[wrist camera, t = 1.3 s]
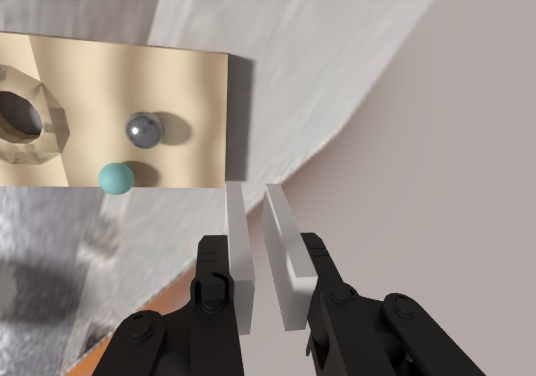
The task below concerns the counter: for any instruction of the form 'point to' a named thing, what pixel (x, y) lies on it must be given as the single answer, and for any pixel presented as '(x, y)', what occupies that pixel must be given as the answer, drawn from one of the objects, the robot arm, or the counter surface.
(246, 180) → the counter surface
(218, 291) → the robot arm
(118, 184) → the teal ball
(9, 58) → the maple board
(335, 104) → the counter surface
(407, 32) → the counter surface
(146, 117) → the steel ball
